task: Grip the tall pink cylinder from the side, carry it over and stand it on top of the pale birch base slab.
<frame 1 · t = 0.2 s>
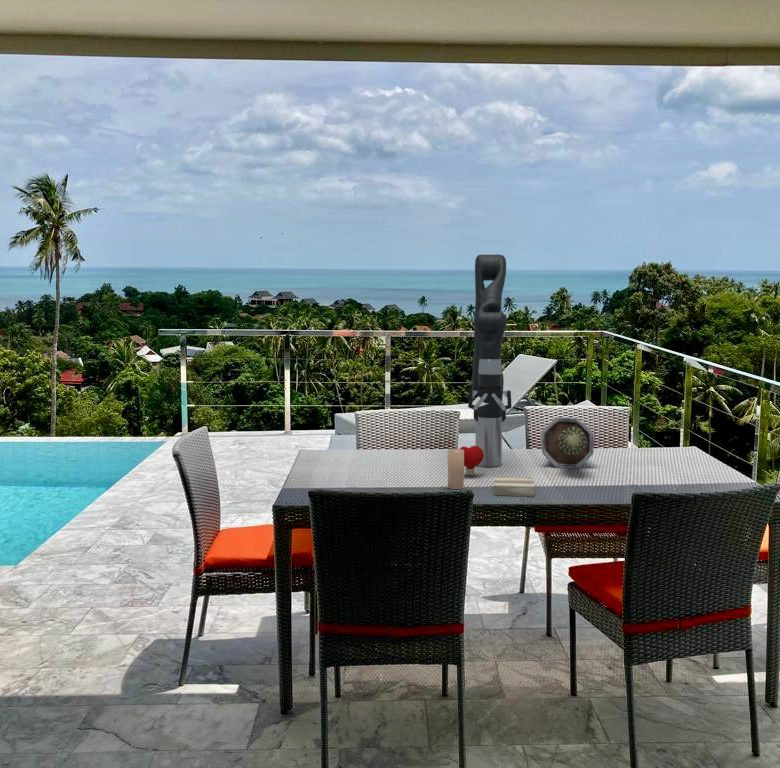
hand: (489, 421, 281), 18 cm above the table, tool pointing down, fingers open, 8 cm apart
red heart: (469, 476, 280), on the table
potted plant: (567, 469, 291), on the table
tall pink cylinder: (455, 487, 265), on the table
base slab: (513, 491, 261), on the table
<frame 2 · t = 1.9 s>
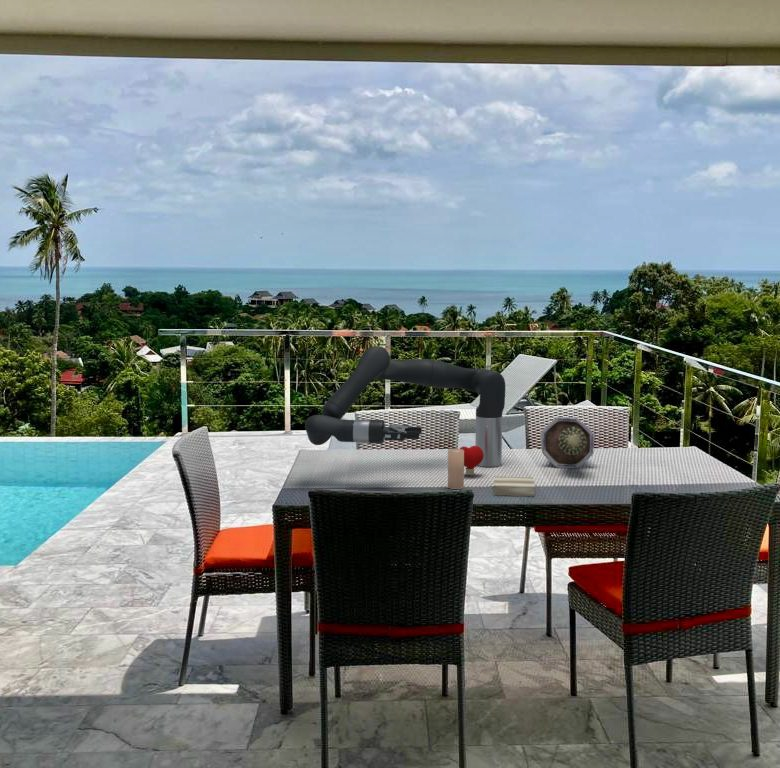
hand: (420, 433, 264), 17 cm above the table, tool horizontal, fingers open, 8 cm apart
nothing on the table moved.
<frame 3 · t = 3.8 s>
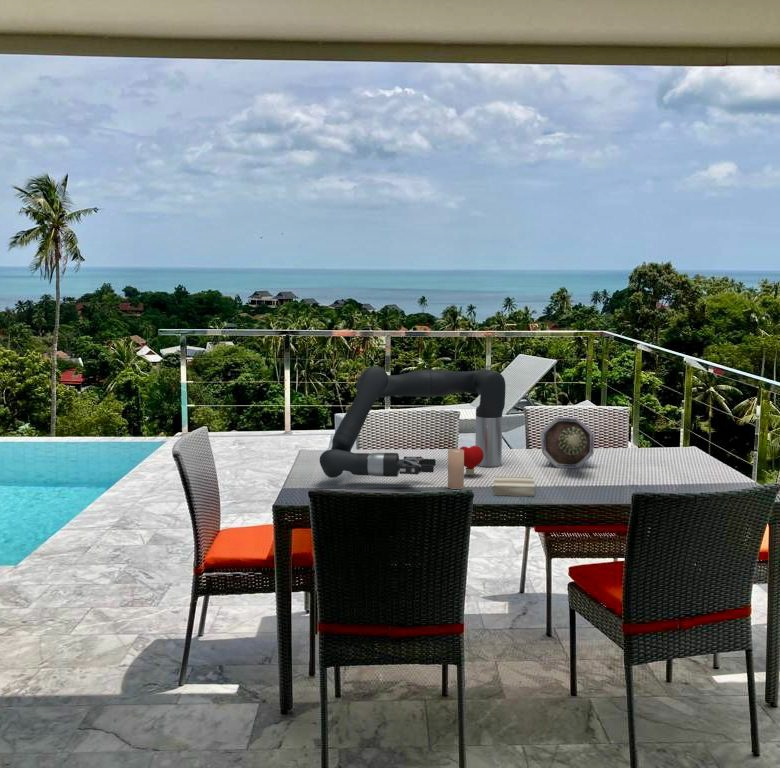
hand: (434, 465, 265), 7 cm above the table, tool horizontal, fingers open, 8 cm apart
nothing on the table moved.
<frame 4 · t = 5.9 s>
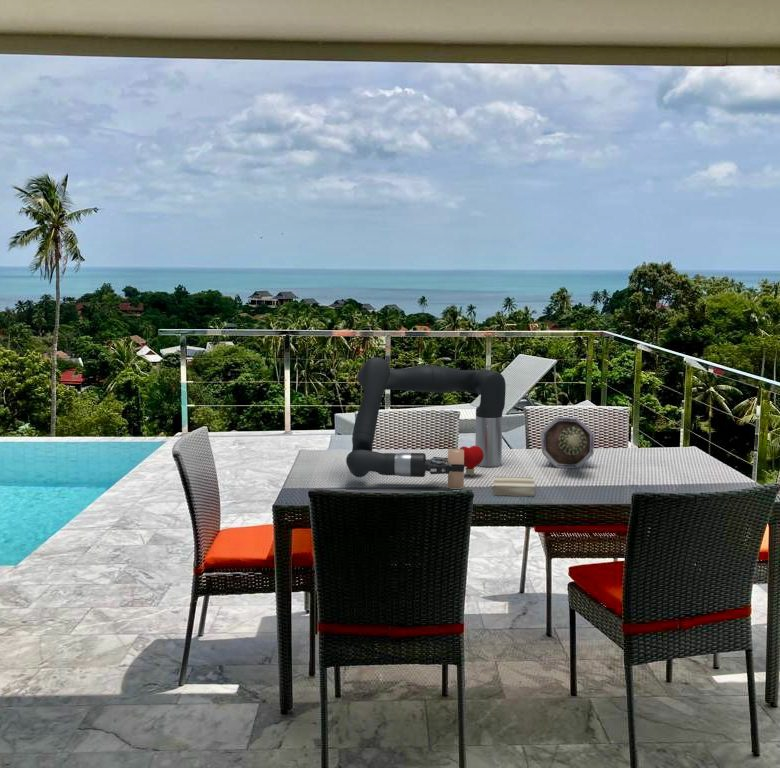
hand: (464, 466, 264), 7 cm above the table, tool horizontal, fingers closed on tall pink cylinder, 5 cm apart
tall pink cylinder: (455, 487, 265), on the table, touching gripper
everything else where it was.
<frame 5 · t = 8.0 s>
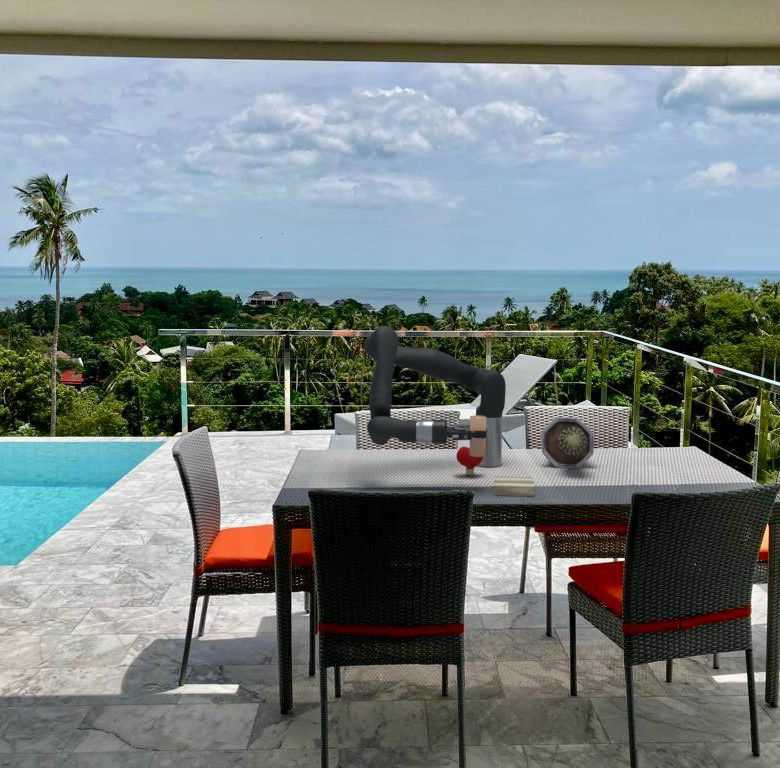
hand: (486, 432, 261), 18 cm above the table, tool horizontal, fingers closed on tall pink cylinder, 5 cm apart
tall pink cylinder: (477, 454, 262), point 11 cm above the table, touching gripper
everything else where it was.
when the fingers open (11 cm above the table, at t = 10.4 s): tall pink cylinder stays where it is, resting on base slab.
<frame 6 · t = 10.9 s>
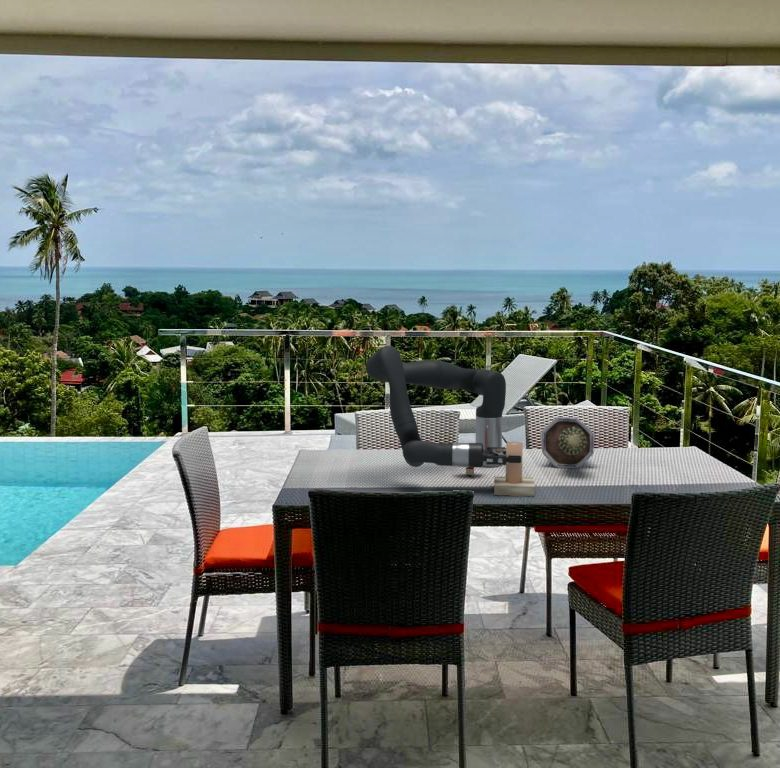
hand: (520, 456, 259), 11 cm above the table, tool horizontal, fingers open, 8 cm apart
tall pink cylinder: (513, 481, 260), point 3 cm above the table, touching base slab
everything else where it was.
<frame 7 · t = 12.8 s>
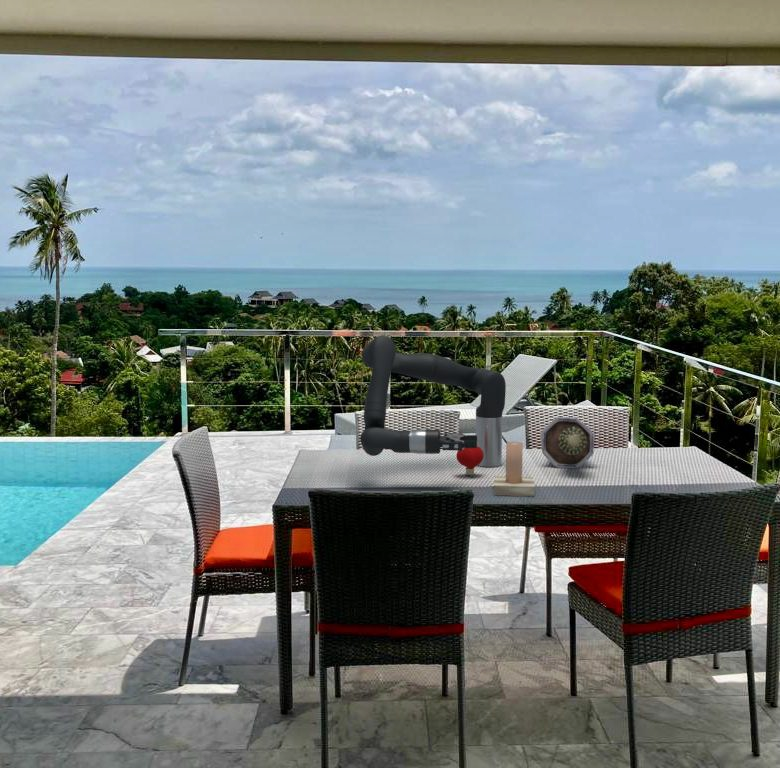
hand: (477, 441, 262), 15 cm above the table, tool horizontal, fingers open, 8 cm apart
nothing on the table moved.
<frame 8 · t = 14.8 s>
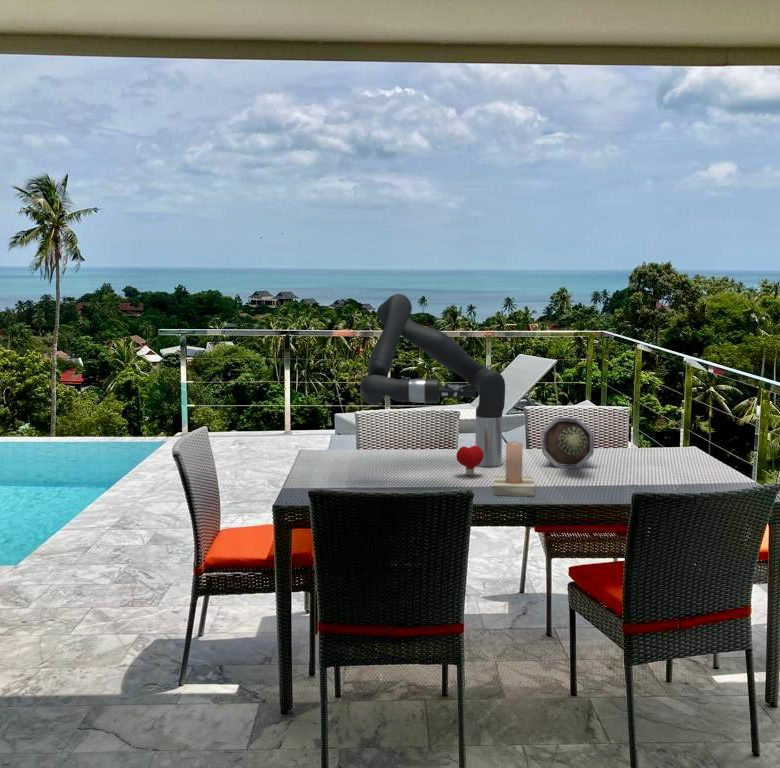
hand: (475, 391, 264), 30 cm above the table, tool horizontal, fingers open, 8 cm apart
nothing on the table moved.
at the end: tall pink cylinder inside the target area on the base slab (0.1 cm from its centre), point 3.0 cm above the base slab's base; tall pink cylinder tilted 0°; the gripper is holding nothing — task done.
